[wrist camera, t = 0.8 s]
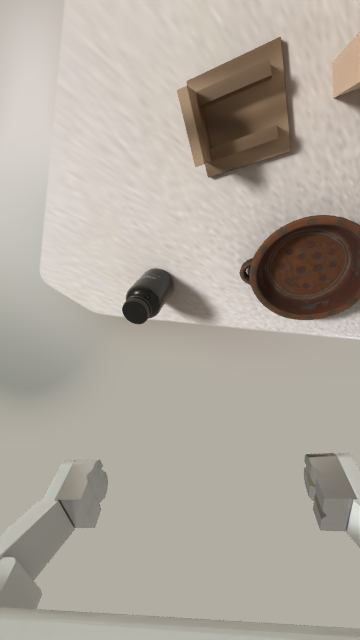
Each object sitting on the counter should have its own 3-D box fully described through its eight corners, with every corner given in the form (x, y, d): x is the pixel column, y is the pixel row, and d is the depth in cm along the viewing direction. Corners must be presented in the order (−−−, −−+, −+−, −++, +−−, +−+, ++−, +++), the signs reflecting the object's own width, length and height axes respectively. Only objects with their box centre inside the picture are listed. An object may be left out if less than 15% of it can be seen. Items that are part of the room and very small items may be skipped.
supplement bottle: (158, 260, 53) (134, 287, 44) (180, 286, 55) (162, 318, 46) (136, 279, 57) (109, 307, 47) (157, 303, 59) (136, 335, 49)
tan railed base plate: (188, 82, 37) (169, 69, 30) (280, 39, 33) (283, 11, 26) (209, 176, 43) (197, 184, 36) (290, 150, 38) (295, 153, 31)
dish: (238, 217, 45) (235, 225, 41) (396, 198, 39) (410, 205, 35) (243, 307, 54) (241, 321, 50) (372, 305, 47) (381, 321, 43)
